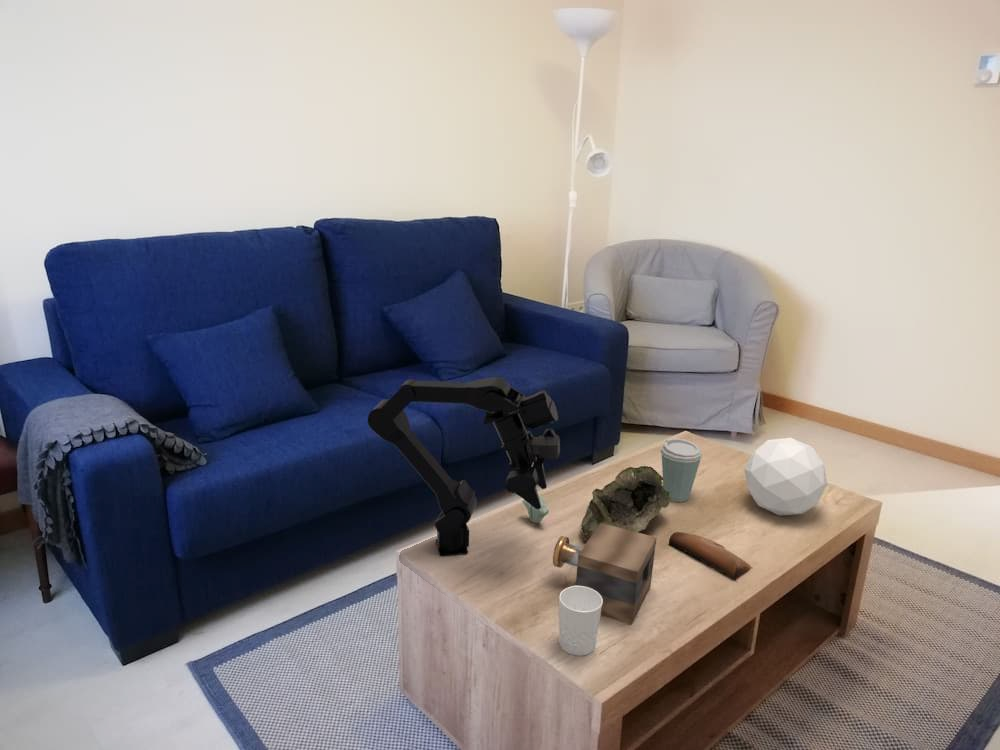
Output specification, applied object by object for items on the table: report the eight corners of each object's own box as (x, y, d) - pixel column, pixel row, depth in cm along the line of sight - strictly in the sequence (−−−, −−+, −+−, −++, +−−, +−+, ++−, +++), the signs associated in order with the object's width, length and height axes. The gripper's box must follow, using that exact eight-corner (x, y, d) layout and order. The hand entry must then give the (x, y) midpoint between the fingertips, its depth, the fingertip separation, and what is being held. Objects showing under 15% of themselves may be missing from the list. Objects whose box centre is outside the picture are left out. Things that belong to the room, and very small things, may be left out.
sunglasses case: (756, 567, 163) (751, 550, 159) (738, 591, 160) (733, 574, 156) (689, 533, 176) (683, 516, 172) (672, 554, 173) (665, 537, 169)
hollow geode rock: (651, 524, 189) (623, 471, 192) (687, 506, 180) (657, 452, 184) (582, 561, 170) (552, 502, 173) (618, 544, 161) (586, 482, 165)
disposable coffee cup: (702, 495, 195) (709, 443, 190) (688, 511, 186) (695, 457, 181) (663, 483, 200) (670, 433, 195) (649, 499, 191) (655, 446, 187)
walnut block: (573, 606, 147) (578, 554, 143) (596, 571, 159) (600, 522, 155) (632, 625, 142) (638, 571, 139) (650, 587, 154) (656, 537, 151)
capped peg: (551, 571, 152) (553, 544, 150) (563, 556, 157) (565, 530, 155) (608, 588, 147) (611, 561, 145) (617, 572, 152) (620, 545, 150)
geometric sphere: (785, 543, 186) (797, 509, 170) (725, 490, 197) (731, 454, 181) (835, 497, 191) (852, 461, 175) (774, 448, 202) (784, 409, 186)
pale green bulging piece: (518, 518, 179) (519, 493, 177) (530, 513, 182) (531, 488, 180) (542, 531, 174) (543, 506, 172) (553, 526, 177) (555, 501, 174)
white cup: (587, 664, 132) (591, 617, 128) (548, 647, 135) (551, 601, 132) (605, 640, 138) (609, 595, 135) (567, 624, 142) (571, 580, 139)
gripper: (542, 440, 143) (572, 508, 147) (553, 407, 161) (580, 468, 164) (491, 457, 147) (522, 523, 150) (507, 422, 164) (534, 482, 167)
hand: (541, 498), depth 158 cm, fingers open, 9 cm apart
